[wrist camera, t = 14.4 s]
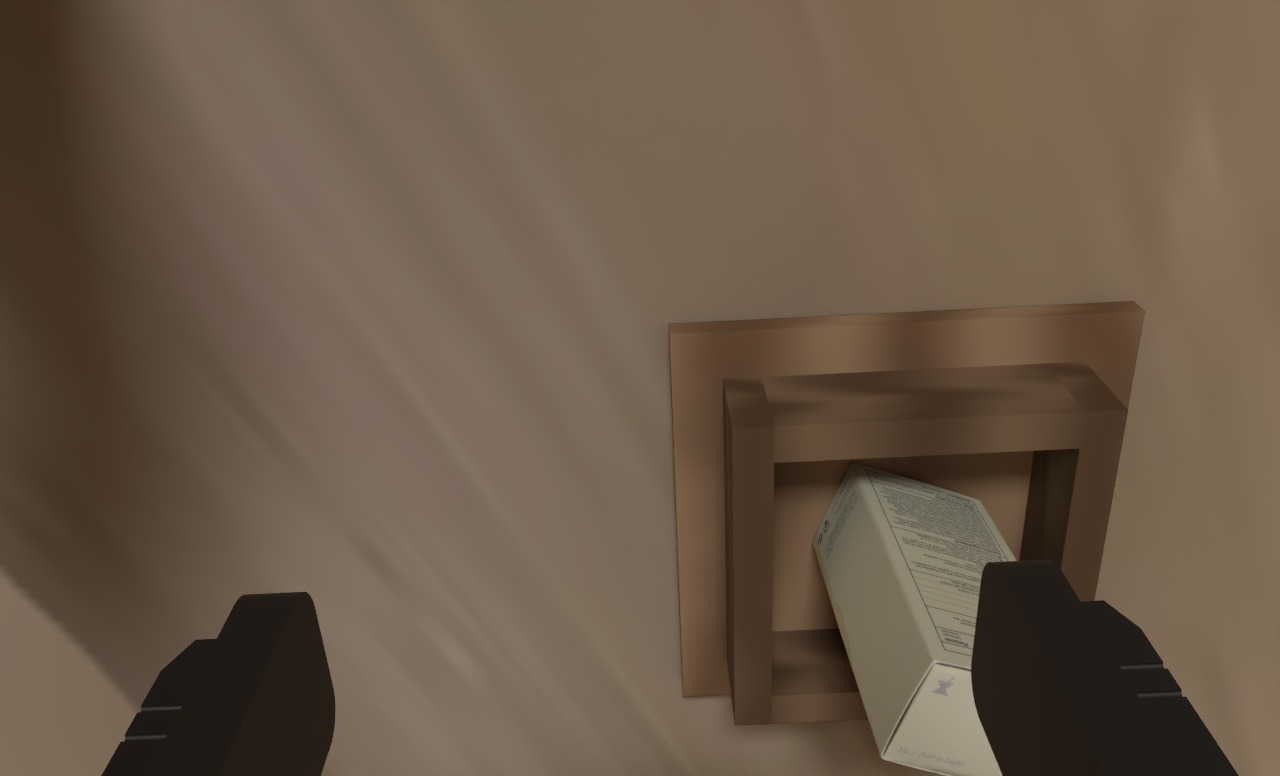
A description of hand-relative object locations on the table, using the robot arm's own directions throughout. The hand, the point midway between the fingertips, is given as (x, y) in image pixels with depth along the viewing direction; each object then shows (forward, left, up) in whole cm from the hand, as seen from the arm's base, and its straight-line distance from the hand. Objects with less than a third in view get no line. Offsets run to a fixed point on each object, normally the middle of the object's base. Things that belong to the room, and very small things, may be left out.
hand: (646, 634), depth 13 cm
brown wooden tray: (+10, -17, -28) cm, 34 cm away
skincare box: (+10, -17, -27) cm, 34 cm away
